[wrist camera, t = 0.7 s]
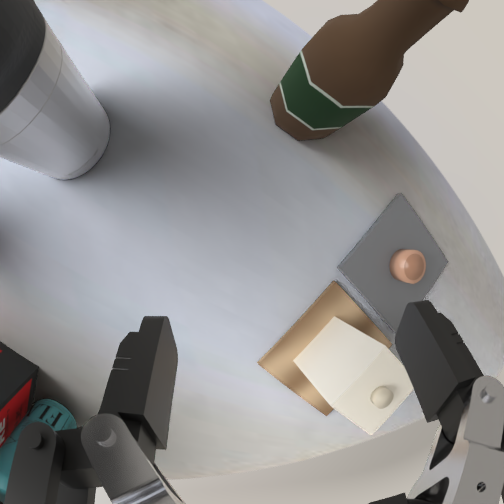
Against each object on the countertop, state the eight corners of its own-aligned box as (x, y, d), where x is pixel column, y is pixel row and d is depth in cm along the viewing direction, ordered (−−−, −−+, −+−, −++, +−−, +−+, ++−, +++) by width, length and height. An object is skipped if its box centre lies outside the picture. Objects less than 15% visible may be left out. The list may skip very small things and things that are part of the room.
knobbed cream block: (292, 360, 32) (335, 412, 21) (334, 316, 33) (392, 349, 22) (329, 390, 34) (376, 441, 23) (366, 349, 34) (425, 386, 23)
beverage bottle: (78, 396, 29) (11, 518, 9) (86, 439, 29) (41, 559, 10) (31, 386, 28) (-52, 484, 8) (41, 429, 28) (-19, 532, 8)
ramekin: (384, 261, 34) (396, 263, 31) (405, 242, 34) (418, 243, 32) (397, 287, 34) (410, 290, 32) (417, 267, 35) (430, 270, 32)
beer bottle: (346, 125, 33) (513, 31, 9) (294, 156, 32) (468, 46, 8) (308, 71, 31) (433, -66, 8) (253, 97, 30) (354, -77, 7)
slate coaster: (337, 267, 33) (340, 268, 33) (397, 193, 34) (401, 193, 34) (393, 331, 35) (397, 333, 35) (444, 261, 36) (448, 261, 36)
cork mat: (257, 362, 32) (258, 364, 32) (333, 280, 33) (335, 281, 33) (324, 413, 34) (326, 416, 34) (389, 342, 35) (392, 344, 35)
